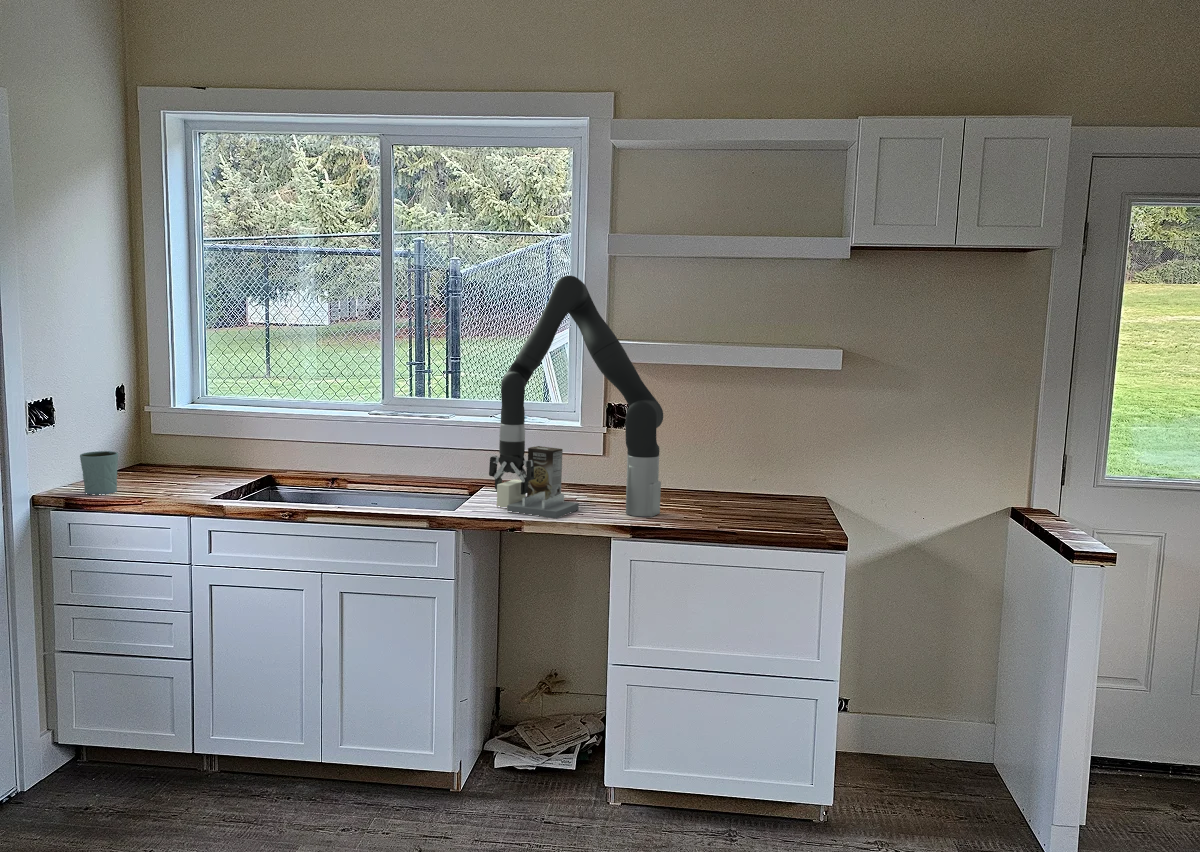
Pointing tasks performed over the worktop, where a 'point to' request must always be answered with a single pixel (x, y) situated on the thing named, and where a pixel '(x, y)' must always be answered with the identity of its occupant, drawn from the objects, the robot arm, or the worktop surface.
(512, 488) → the block
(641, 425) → the robot arm
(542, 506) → the book rack
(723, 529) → the worktop surface
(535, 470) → the coffee box
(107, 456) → the green cup
